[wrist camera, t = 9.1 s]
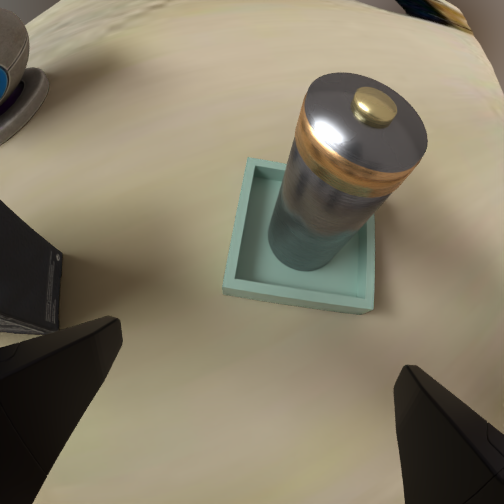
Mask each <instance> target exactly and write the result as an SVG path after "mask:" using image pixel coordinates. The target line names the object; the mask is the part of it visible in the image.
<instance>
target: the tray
mask: <svg viewBox="0 0 504 504" xmlns="http://www.w3.org/2000/svg"><path fill="white" fill-rule="evenodd" d="M286 165H287V164H284V163H278V162H273V161H267V160H261V159H256V158H249V157H248V158H247V163H246V168H245V173H244V178H243V183H242V188H241V193H240V197H239V202H238V207H237V212H236V218H235V223H234V228H233V233H232V238H231V243H230V248H229V254H228V259H227V264H226V270H225V275H224V280H223V286H222V290H223V294H224V295H229V296H235V297H241V298H247V299H253V300H259V301H266V302H272V303H278V304H285V305H292V306H298V307H305V308H312V309H319V310H327V311H334V312H342V313H350V314H358V315H361V314H364V313H366V312H369V311H371V310H373V307H374V282H375V220H374V214H373V215H372V216H371V217H370V218H369V220H368V221H367V222H366V223H365V224H364V225H363V226H362V227H361V228H360V229H359V231H358V232H357V233H356V234H355V235H354V236H353V237H352V238H351V239H350V240H349V241H348V243H347V244H346V245H345V246H344V247H343V248H342V249H341V250H340V251H339V252H338V253H337V254H336V255H335V256H334V258H333V259H332V260H331V261H330V262H329V263H328V264H327V265H325V266H324V267H322V268H320V269H317V270H314V271H298V270H294V269H291V268H289V267H287V266H286V265H284V264H283V263H281V262H280V261H279V260H278V259H277V258H276V257H275V255H274V254H273V252H272V250H271V248H270V246H269V242H268V228H269V224H270V221H271V217H272V214H273V211H274V207H275V204H276V200H277V197H278V193H279V190H280V186H281V183H282V179H283V176H284V172H285V169H286Z"/></svg>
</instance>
